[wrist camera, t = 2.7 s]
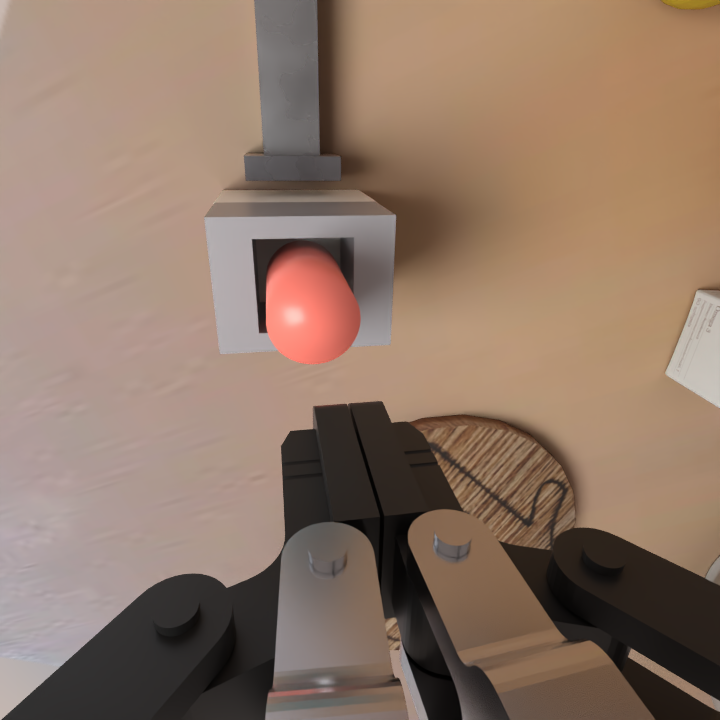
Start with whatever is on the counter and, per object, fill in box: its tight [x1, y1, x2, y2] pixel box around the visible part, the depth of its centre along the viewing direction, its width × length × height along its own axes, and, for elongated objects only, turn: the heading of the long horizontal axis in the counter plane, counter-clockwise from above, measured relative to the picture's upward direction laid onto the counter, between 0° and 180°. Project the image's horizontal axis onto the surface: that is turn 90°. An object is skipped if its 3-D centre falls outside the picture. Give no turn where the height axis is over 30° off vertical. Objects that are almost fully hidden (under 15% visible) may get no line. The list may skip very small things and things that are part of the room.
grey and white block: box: [204, 190, 396, 354], centre depth 26 cm, size 6×8×10 cm
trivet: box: [385, 415, 575, 650], centre depth 43 cm, size 25×25×2 cm
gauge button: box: [266, 240, 361, 364], centre depth 20 cm, size 3×3×6 cm
